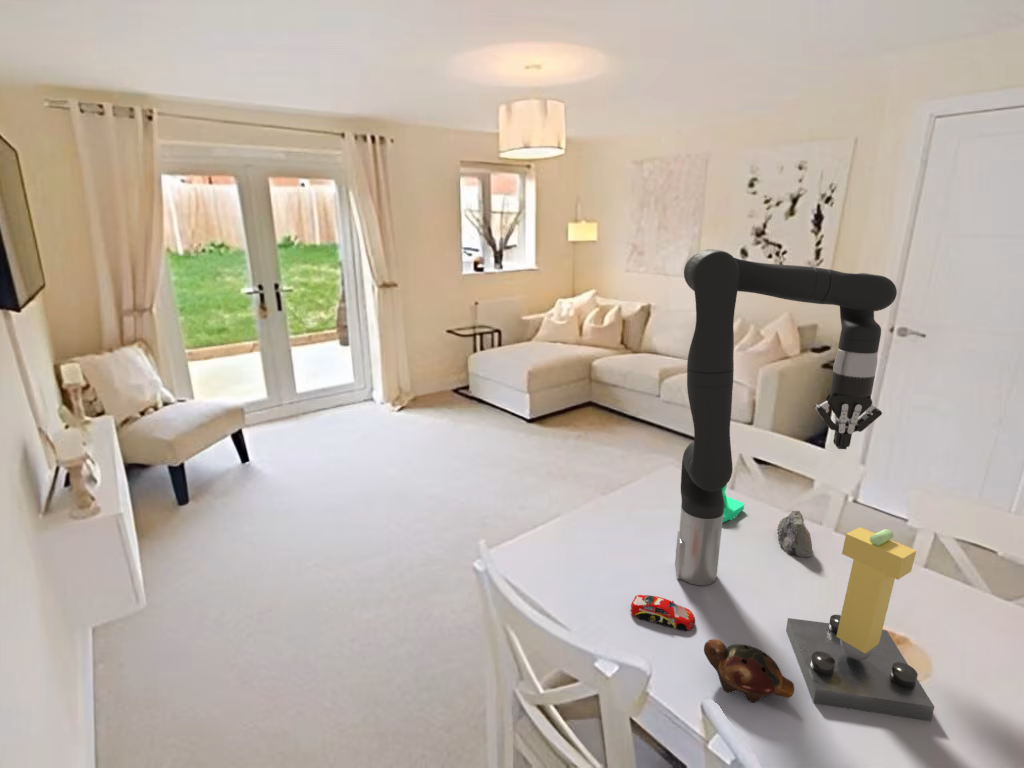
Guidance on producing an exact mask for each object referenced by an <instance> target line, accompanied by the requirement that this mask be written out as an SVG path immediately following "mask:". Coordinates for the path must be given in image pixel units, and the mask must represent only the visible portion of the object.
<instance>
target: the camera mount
mask: <svg viewBox="0 0 1024 768" xmlns="http://www.w3.org/2000/svg"><path fill="white" fill-rule="evenodd" d="M727 486H728V484H727V485H725V486H724V487H723V488H722V493H723V498H724V513H723V522H722V523H725V522H727V521H728V520H731V519H733V518H734V517H736V516H737V515H738V516H739V514H740V513H741V512H742V511H744V509H745V502H742V501H739V500H737V499H734V498H732V497H729V496H727V495H726V493H725V492H726V489H727ZM738 516H737V517H738ZM737 517H736V518H737ZM734 519H735V518H734ZM734 519H733V520H734ZM731 521H732V520H731Z"/></svg>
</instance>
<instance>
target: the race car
mask: <svg viewBox="0 0 1024 768" xmlns="http://www.w3.org/2000/svg"><path fill="white" fill-rule="evenodd" d="M630 604H631V605H630V613H631V615H632V616H634V617H635V618H638V619H639V620H641V621H644V622H647V621H648V622H651V623H655V624H658V625H662V626H666V627H669V628H673V629H677V630H679V631H682V632H685V631H689V630H691V629H693V628H694V627H695V624H696V617H695V615H694V613H693V612H692V611H691V610H690V609H688V608H686V607H683V606H682V605H680V604H679V605H678V604H676V603H675V602H674V600H670V599H667V598H664V597H660V596H656V595H649V594H648V595H647V594H638V595H635V596H634V598H633V599H632V602H631V603H630Z"/></svg>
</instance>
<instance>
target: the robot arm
mask: <svg viewBox="0 0 1024 768" xmlns="http://www.w3.org/2000/svg"><path fill="white" fill-rule="evenodd" d="M686 261H687V262H686V263H685V265H684V268H683V276H684V277H683V278H684V280H685V282H686V284H687V286H688V287H689V288H690V289H691V290H692V291H694V298H695V299H694V300H695V314H696V315H695V327H694V332H693V335H692V339H691V343H690V346H689V350H688V354H687V362H686V363H687V365H686V373H687V374H686V387H687V388H686V389H687V397H688V403H689V409H690V413H691V418H692V423H693V429H694V430H693V432H694V433H693V435H694V437H693V438H694V439H693V441H692V442H691V443H689V444H688V445H687V446H686V448H685V449H684V452H683V455H682V461H681V473H680V474H681V475H680V496H681V505H680V517H679V518H680V519H679V529H678V530H677V536H676V549H675V550H676V551H675V561H674V564H675V565H674V566H675V575H676V579H677V580H681V581H683V582H686V583H688V584H690V585H695V586H708V585H712V584H714V582H716V580H717V576H718V566H719V558H720V547H721V540H722V530H723V523H724V522H723V513H724V498H723V493H722V488H723V487H724V486H725V485H727V486H728V483H729V482H730V480H731V477H732V474H733V458H732V447H731V446H732V444H731V421H732V420H731V418H732V407H733V406H732V405H733V404H732V403H733V389H734V370H735V369H734V368H735V367H734V366H735V365H734V364H735V363H734V353H735V352H734V351H735V350H734V348H735V347H734V345H735V343H734V342H735V341H734V338H735V337H734V336H735V335H734V333H735V332H734V322H735V321H734V320H735V318H734V317H735V310H736V304H737V295H738V292H743V293H750V294H751V293H752V294H757V295H758V294H759V295H764V296H768V297H773V298H778V299H783V300H789V301H794V302H801V303H809V304H815V305H816V304H817V305H832V306H838V307H839V315H840V316H839V317H840V318H839V319H840V325H841V330H840V335H839V340H838V341H839V342H838V347H837V352H836V354H835V359H834V363H833V366H832V376H831V382H830V388H829V394H828V396H826V398H825V401H824V402H822V403H816V404H814V406H813V408H814V409H815V411H816V413H817V414H818V415H819V416H820V417H821V419H822V421H823V422H824V423H825V425H826V426H827V427H828V428H829V429H830V430H832V431H834V435H833V445H834V446H835V447H836V448H837V449H838V450H847V448H849V447H850V446H851V440H852V435H853V433H855V432H859V433H860V432H863V431H864V430H865V429H866V428H868V427H869V426H870V425H871V424H872V423H874V422H875V421H876V420H877V419H878V418H880V417H881V416H882V414H883V412H882V410H880V408H878V407H876V406H874V405H873V400H872V393H873V388H874V384H875V383H874V382H875V378H876V372H877V366H878V354H879V353H878V352H879V347H880V341H881V336H882V327H881V325H880V324H878V322H877V321H876V320H875V312H879V311H882V310H885V309H886V308H888V307H890V306H891V305H892V304H893V303H894V301H895V299H896V297H897V293H898V289H897V287H896V285H895V282H894V281H892V280H891V279H890V278H888V277H886V276H884V275H879V274H871V273H865V272H864V273H863V272H860V273H852V272H850V273H849V272H848V273H847V272H843V271H838V270H834V269H831V268H830V269H829V268H824V267H823V268H821V267H813V266H806V265H805V266H804V265H791V264H790V265H789V264H778V263H777V264H776V263H764V262H755V261H751V260H745V259H740V258H736V257H734V256H733V255H732V254H731V253H729V252H727V251H723V250H720V249H713V248H711V249H709V248H708V249H703V250H700V251H697V252H696V253H694V254H693V255H691V257H689V258H688V260H686ZM829 407H830V408H829ZM829 409H830V410H831V411H832V413H833V415H834V421H833V420H832V419H831V417H830V416H829V414H828V413H829V411H830V410H829Z"/></svg>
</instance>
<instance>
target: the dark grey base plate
mask: <svg viewBox="0 0 1024 768" xmlns="http://www.w3.org/2000/svg"><path fill="white" fill-rule="evenodd" d="M840 618H841V614H831V616H830V618H829V622H823V621H822V622H821V621H814V620H806V619H797V618H790V617H787V621H786V626H785V627H786V628H785V632H786V634H787V636H788V640H789V642H790V645H791V647H792V650H793V653H794V656H795V658H796V661H797V663H798V666H799V669H800V671H801V673H802V676H803V679H804V683H805V684H806V685H805V686H806V687H807V689H808V693H809V695H810V698H811V700H812V703H813V704H818V705H824V706H833V707H839V708H844V707H845V708H844V709H850V708H852V709H851V710H856V709H859V710H858V711H864V712H871V713H877V714H882V713H883V714H884V715H889V714H890V716H894V717H895V716H896V717H903V718H909V719H916V720H922V721H929V722H931V721H932V718H933V714H934V710H935V705H934V704H933V702H932V701H931V699H930V698H929V696H928V694H927V692H926V691H925V688H923V686H922V684H921V683H920V681H919V680H918V674H919V673H918V672H917V670H916V669H915V668H913V667H912V666H910V665H909V663H907V660H906V659H905V657H904V655H903V654H902V652H901V651H900V649H899V647H898V646H897V645H896V643H895V641H894V640H893V638H892V637H891V634H890V633H889V632H888V630H885V629H882V633H881V637H880V641H879V644H878V645H877V646H875V647H874V648H873V651H872V654H871V656H870V657H869V658H867V659H865V660H856V659H853V658H851V657H849V656H848V655H847V654H846V653H845V652H844V651H843V649H842V647H841V643H840V640H841V639H839V638H838V637H836V636H837V631H838V627H839V622H840Z"/></svg>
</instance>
